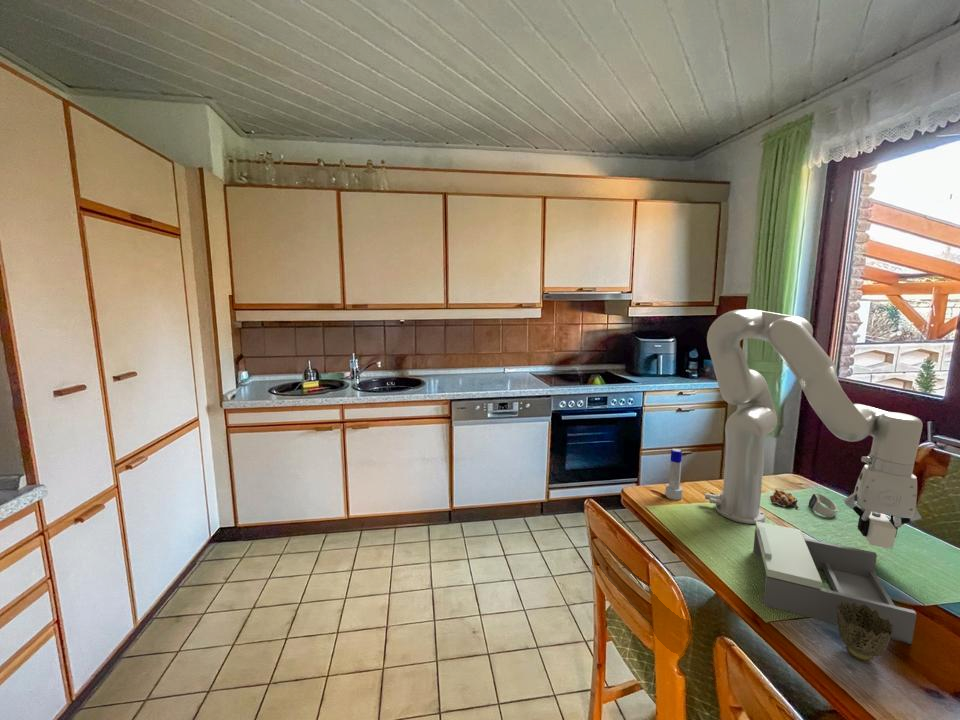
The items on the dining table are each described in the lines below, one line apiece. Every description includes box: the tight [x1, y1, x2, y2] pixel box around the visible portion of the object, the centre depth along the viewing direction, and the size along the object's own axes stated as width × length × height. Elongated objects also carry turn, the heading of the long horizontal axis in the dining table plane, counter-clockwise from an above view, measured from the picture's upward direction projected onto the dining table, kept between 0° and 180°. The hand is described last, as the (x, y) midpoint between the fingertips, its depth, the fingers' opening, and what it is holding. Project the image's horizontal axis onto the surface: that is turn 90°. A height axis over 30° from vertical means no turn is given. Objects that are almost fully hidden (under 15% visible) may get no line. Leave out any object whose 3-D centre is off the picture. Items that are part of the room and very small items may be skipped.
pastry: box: [769, 488, 800, 511], centre depth 135 cm, size 7×12×4 cm, turn 155°
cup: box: [837, 602, 894, 663], centre depth 76 cm, size 8×7×8 cm
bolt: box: [664, 448, 684, 501], centre depth 136 cm, size 16×5×5 cm
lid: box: [755, 521, 823, 589], centre depth 96 cm, size 9×21×3 cm, turn 153°
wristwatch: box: [808, 492, 839, 518], centre depth 128 cm, size 9×6×5 cm
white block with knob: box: [865, 512, 898, 550], centre depth 103 cm, size 4×8×6 cm, turn 153°
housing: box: [752, 528, 917, 645], centre depth 93 cm, size 23×21×6 cm
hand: (875, 535), depth 104 cm, fingers closed on white block with knob, 4 cm apart
